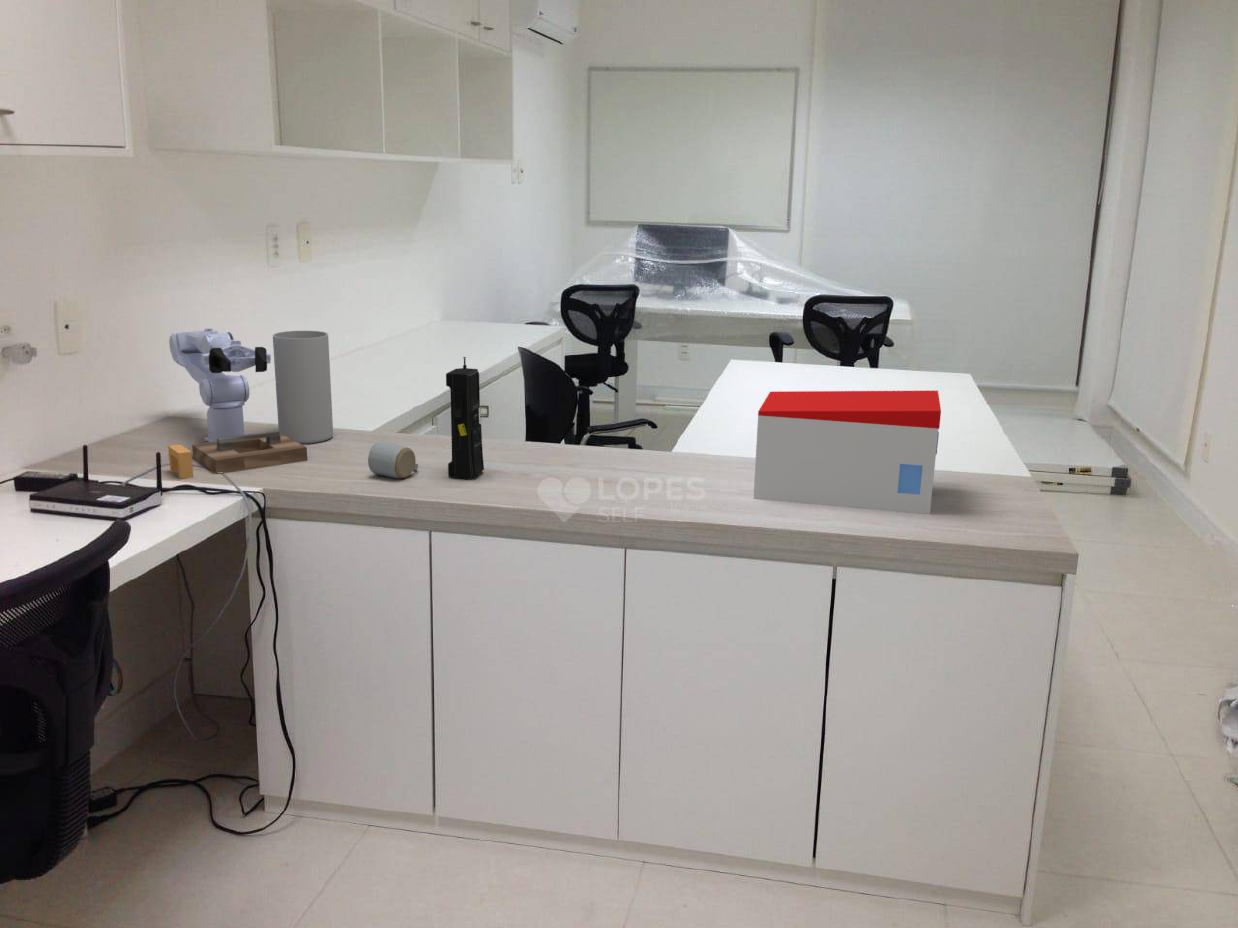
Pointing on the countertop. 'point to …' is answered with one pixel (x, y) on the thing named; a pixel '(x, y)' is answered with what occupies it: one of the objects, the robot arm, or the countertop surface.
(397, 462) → the ceramic mug
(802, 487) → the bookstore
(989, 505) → the countertop surface
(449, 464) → the portable radio
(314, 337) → the cylinder vase
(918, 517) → the countertop surface
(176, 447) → the orange c-shaped bracket
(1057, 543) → the countertop surface
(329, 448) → the countertop surface
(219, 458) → the hook board
